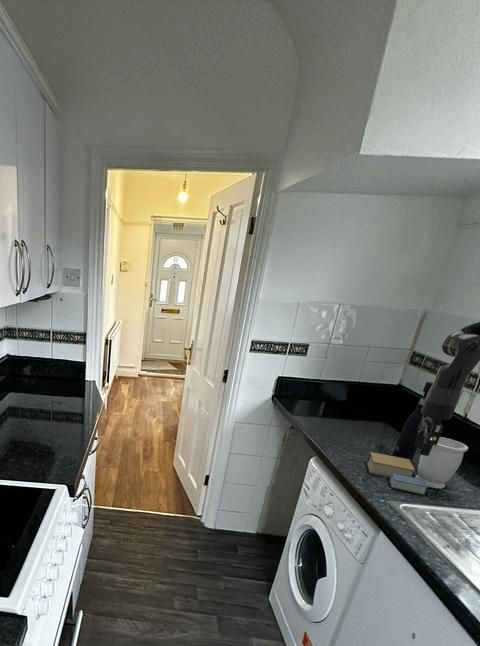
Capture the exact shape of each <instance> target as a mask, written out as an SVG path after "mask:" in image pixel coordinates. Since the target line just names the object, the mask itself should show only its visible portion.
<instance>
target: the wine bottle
mask: <svg viewBox="0 0 480 646" xmlns="http://www.w3.org/2000/svg"><path fill="white" fill-rule="evenodd" d="M432 384H433V382H432V381H426V382H425V385H424V387H423V389H422V392H423V396H422V398H420V400H419V402H418V403H417V404H416V407H415V409H414V411H413V412H412V413H411V414H410V415H409V416H408V417H407V419H406V420H405V422H404V424H403V427H402V429H401V431H400V434H399V436H398V439H397V441H396V444H395V446H394V449H393V451H392V454H391V456H395V457H400V458H405V459H410V461H411V463H412V462H413V459H414V457H415V454H416V452H417V450H418V448H419V446H415V441H416V439H417V436H418V429H417V428H418V427H419V424H420V422H421V419H422V417H423V414H422V413H421V410H422V407H423V404H424V402H425V399H426V397H427V394H428V392H429V390H430V388H431V386H432Z"/></svg>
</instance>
